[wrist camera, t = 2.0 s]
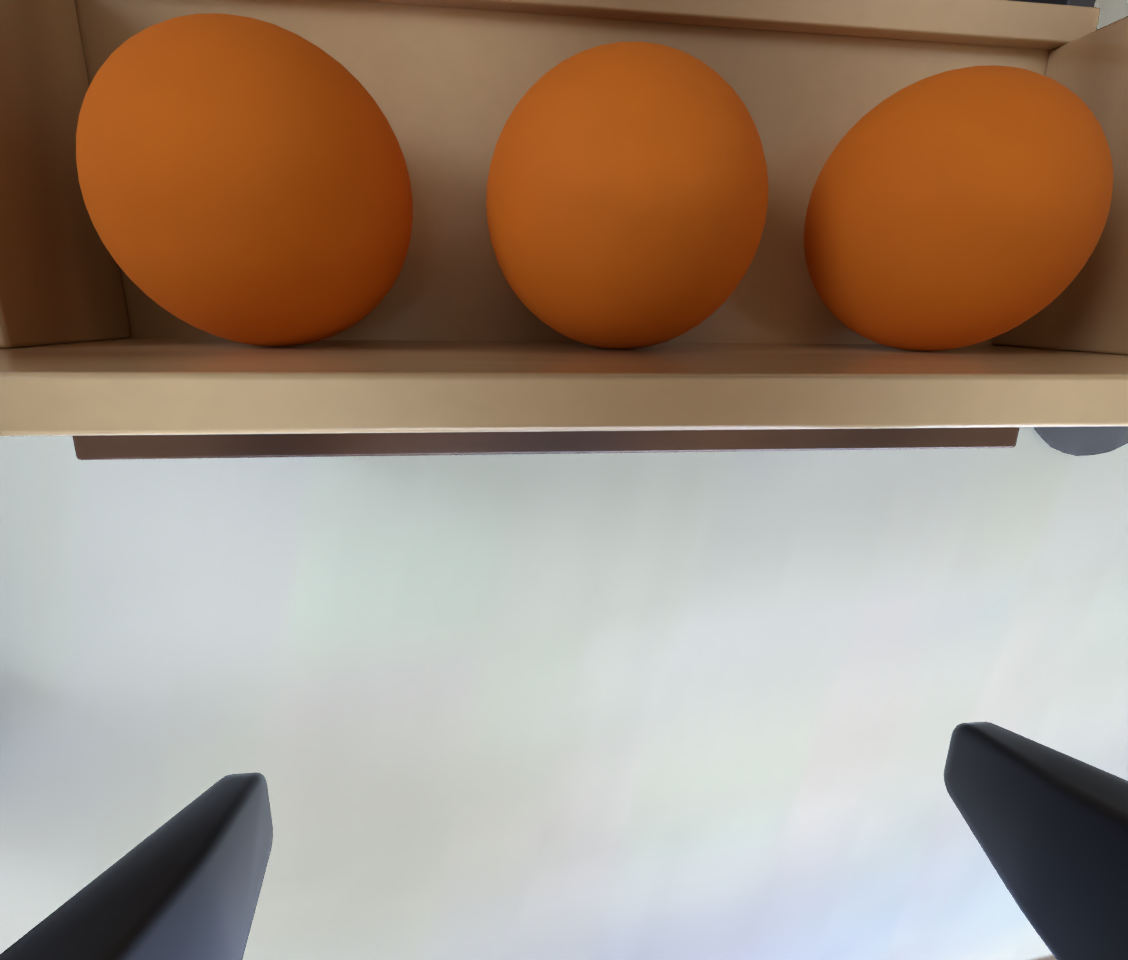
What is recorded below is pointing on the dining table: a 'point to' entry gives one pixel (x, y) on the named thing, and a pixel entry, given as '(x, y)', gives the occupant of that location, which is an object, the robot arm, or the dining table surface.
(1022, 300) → the orange ball
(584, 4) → the wooden box
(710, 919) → the dining table surface
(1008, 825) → the robot arm
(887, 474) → the dining table surface
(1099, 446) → the sundae
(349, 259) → the orange ball
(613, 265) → the orange ball
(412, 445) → the stand
